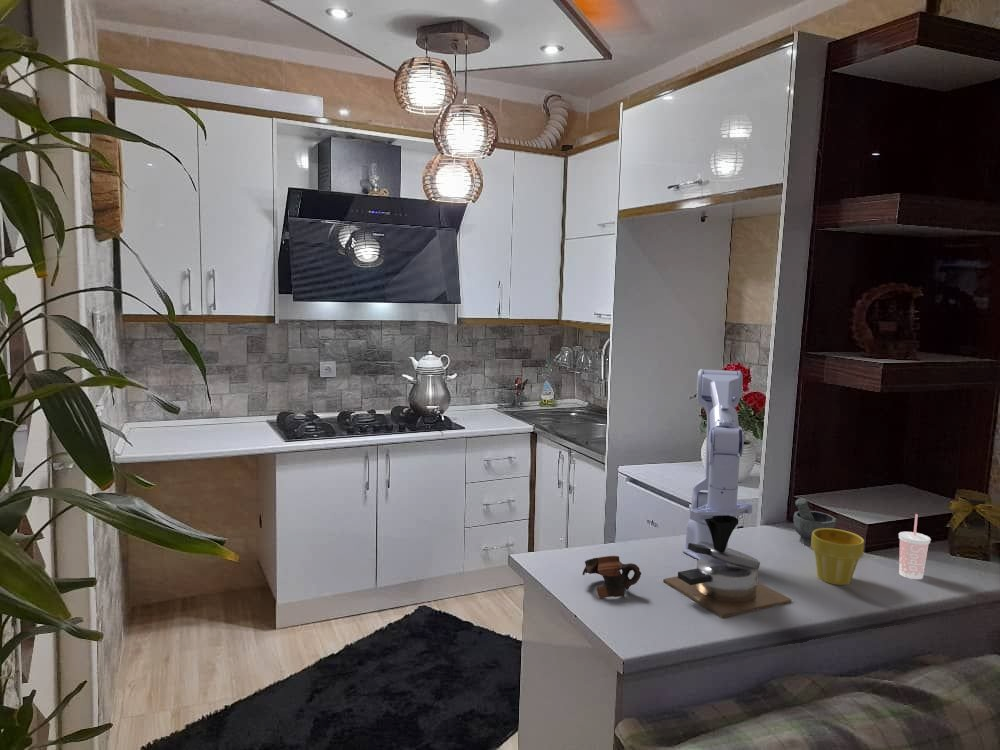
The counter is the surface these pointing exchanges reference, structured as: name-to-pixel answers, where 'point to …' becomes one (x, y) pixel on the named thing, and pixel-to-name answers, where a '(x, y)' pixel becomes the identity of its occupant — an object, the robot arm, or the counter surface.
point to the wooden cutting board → (725, 588)
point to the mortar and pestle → (810, 521)
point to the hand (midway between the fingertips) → (719, 550)
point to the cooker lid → (725, 555)
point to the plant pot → (836, 554)
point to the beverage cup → (913, 553)
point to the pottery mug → (612, 575)
